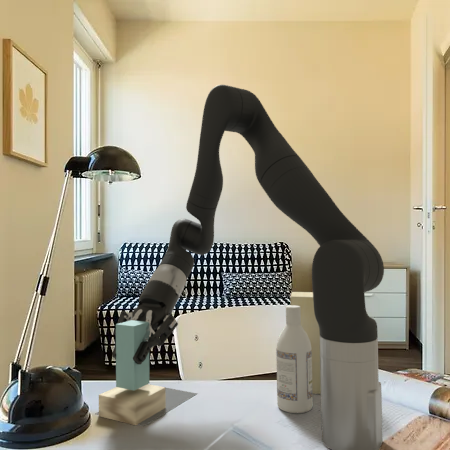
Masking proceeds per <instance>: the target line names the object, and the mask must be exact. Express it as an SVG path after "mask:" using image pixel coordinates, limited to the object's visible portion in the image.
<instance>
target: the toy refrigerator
mask: <svg viewBox="0 0 450 450" xmlns="http://www.w3.org/2000/svg"><path fill="white" fill-rule="evenodd" d="M289 299H290V305H296V306H300V308H301V326H302V327H303V329H304V330H305V332H306V333H307V335H308V337H309V340H310V343H311V349H312V395H321V381H320V331H319V325H318V322H317V320H316V317H315V313H314V302H313V291H312V292H311V291H291V293H290V298H289ZM290 305H289V306H290Z"/></svg>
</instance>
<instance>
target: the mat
mask: <svg viewBox="0 0 450 450" xmlns="http://www.w3.org/2000/svg"><path fill="white" fill-rule="evenodd" d="M164 387H165V386H164ZM165 394H166V408H164V409H163V410H161V411H159V412H158V413H156V414H154V415H153V416H151V417H149V418H147V419H146V420H144V421H142V422H141V423H139V424H137V425H136V426H142V427H145V426H147V425H149V424H150V423H151V422H153V421H155V420H157V419H158V418H160V417H162V416H164V415H165V414H167V413H168V412H170V411H171V410H173V409H175V408H177V407H178V406H180V405H182V404H183V403H185V402H186V401H189V400H190V399H191V398H193V397H194V396H196V395H197V394H198V393H196V392H192V391H186V390H181V389H175V388H171V387H170V388H169V387H165ZM94 415H98V416H99V411H98V412H96V413H95V414H94Z"/></svg>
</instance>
